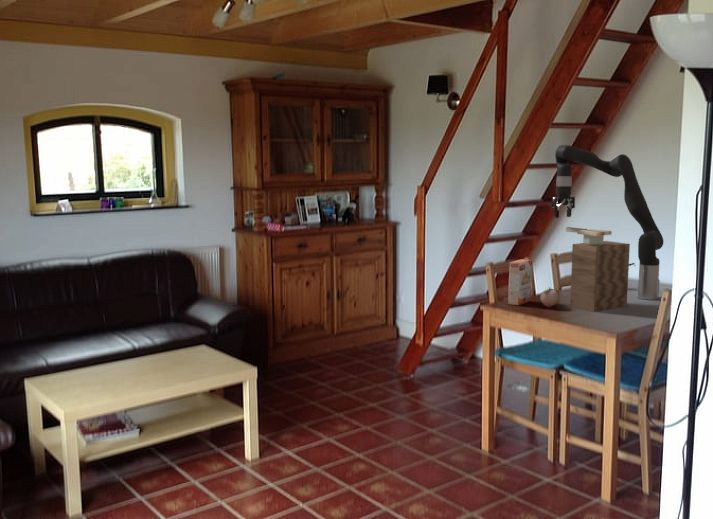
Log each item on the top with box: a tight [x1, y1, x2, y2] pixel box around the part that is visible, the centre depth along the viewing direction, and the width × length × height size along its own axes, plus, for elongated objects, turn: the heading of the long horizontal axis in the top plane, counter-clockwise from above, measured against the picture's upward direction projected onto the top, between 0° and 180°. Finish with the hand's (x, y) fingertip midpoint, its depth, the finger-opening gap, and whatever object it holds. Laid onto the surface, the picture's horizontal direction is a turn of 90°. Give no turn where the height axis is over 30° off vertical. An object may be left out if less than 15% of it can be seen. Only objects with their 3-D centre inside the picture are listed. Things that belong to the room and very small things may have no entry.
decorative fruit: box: [539, 286, 560, 309], centre depth 344 cm, size 9×8×10 cm
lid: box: [565, 226, 613, 236], centre depth 343 cm, size 10×22×2 cm, turn 33°
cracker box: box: [507, 258, 533, 307], centre depth 354 cm, size 14×6×21 cm, turn 143°
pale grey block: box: [582, 235, 605, 246], centre depth 340 cm, size 9×9×5 cm
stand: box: [569, 240, 631, 313], centre depth 345 cm, size 23×14×30 cm, turn 121°
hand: (562, 217), depth 370 cm, fingers open, 8 cm apart
